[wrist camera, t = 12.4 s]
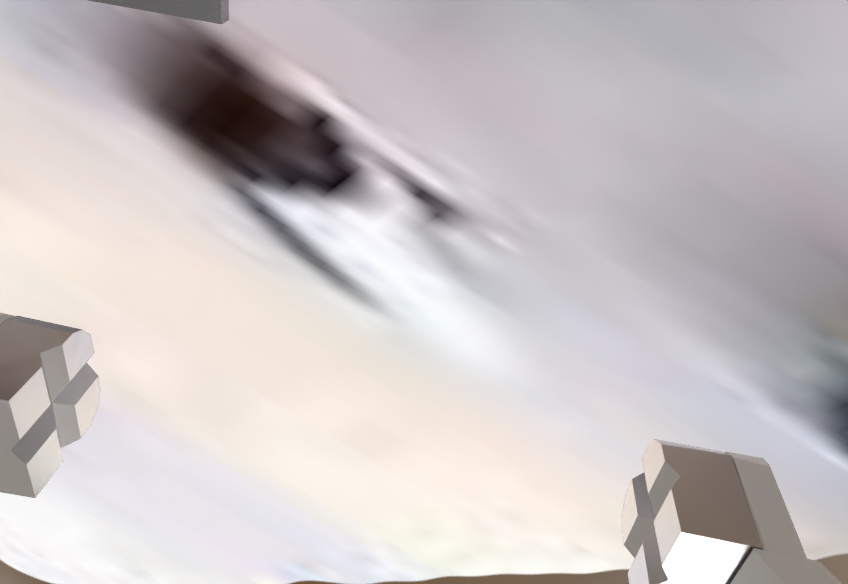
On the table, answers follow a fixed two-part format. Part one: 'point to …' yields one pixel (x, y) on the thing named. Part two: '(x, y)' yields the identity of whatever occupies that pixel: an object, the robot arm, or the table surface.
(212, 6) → the grey mallet
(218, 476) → the table surface
